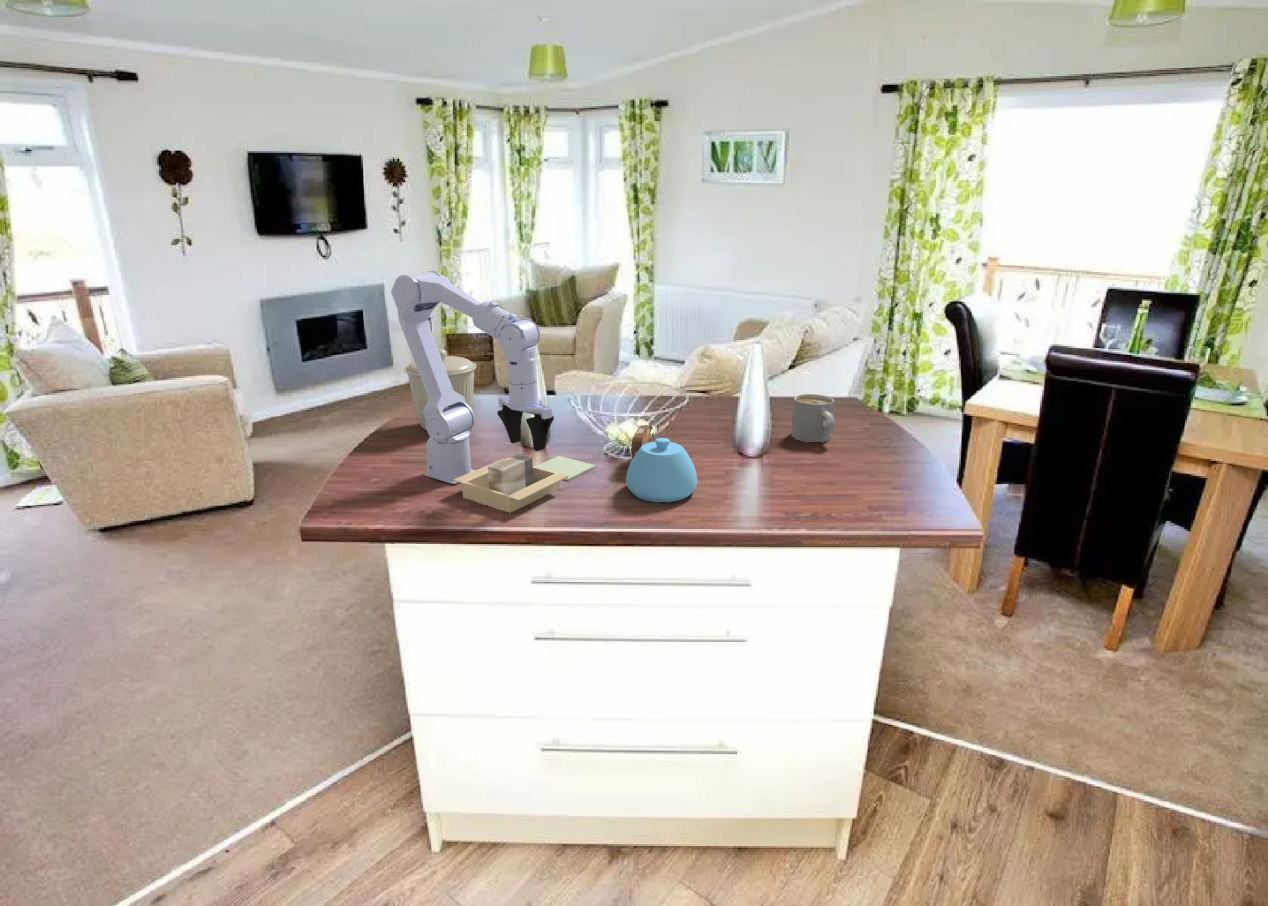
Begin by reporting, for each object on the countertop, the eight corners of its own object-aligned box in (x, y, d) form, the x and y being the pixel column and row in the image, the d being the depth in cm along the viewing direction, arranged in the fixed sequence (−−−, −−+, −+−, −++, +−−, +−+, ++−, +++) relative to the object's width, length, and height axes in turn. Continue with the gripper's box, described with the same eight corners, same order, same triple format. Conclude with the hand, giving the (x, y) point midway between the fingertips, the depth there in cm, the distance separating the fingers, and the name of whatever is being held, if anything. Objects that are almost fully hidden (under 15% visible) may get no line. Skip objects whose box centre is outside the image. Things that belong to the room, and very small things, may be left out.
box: (489, 498, 151) (487, 466, 149) (519, 484, 158) (518, 453, 156) (504, 502, 149) (502, 470, 147) (533, 488, 156) (532, 457, 154)
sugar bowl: (687, 475, 164) (689, 426, 160) (704, 503, 150) (707, 449, 146) (620, 479, 161) (620, 429, 157) (632, 507, 147) (632, 453, 143)
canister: (427, 415, 205) (420, 340, 197) (489, 418, 202) (484, 343, 195) (399, 436, 188) (390, 355, 181) (466, 439, 186) (460, 358, 178)
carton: (454, 495, 152) (453, 479, 151) (505, 473, 164) (504, 458, 163) (519, 516, 143) (519, 499, 142) (568, 491, 155) (568, 475, 154)
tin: (643, 476, 163) (643, 440, 160) (629, 475, 164) (629, 439, 161) (654, 453, 177) (655, 420, 174) (642, 452, 177) (642, 419, 175)
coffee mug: (785, 431, 193) (788, 394, 190) (821, 429, 195) (825, 393, 191) (804, 448, 181) (807, 409, 177) (842, 446, 182) (846, 407, 179)
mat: (530, 470, 166) (530, 468, 166) (558, 457, 174) (558, 455, 173) (568, 480, 160) (568, 478, 160) (596, 467, 168) (596, 465, 168)
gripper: (562, 383, 144) (565, 448, 149) (515, 372, 154) (520, 434, 158) (534, 390, 140) (539, 457, 144) (488, 379, 149) (493, 442, 153)
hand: (527, 445), depth 151 cm, fingers open, 7 cm apart
